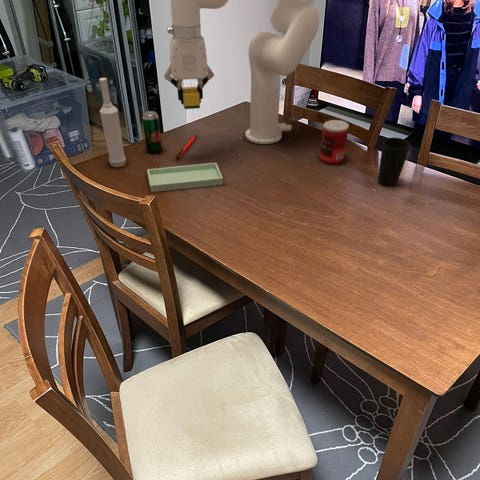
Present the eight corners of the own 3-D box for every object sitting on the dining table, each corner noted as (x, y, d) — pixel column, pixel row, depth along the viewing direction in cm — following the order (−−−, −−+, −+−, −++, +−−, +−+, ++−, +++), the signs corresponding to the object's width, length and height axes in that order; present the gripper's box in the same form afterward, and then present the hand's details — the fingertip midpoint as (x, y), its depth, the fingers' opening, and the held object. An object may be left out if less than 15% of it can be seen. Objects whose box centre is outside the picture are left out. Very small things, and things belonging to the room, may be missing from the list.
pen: (175, 160, 152) (175, 157, 152) (194, 136, 166) (194, 133, 165) (178, 160, 152) (177, 157, 151) (197, 136, 165) (197, 133, 165)
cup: (381, 173, 147) (390, 135, 138) (404, 181, 143) (415, 142, 135) (369, 182, 143) (378, 143, 134) (393, 191, 139) (403, 151, 131)
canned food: (344, 155, 156) (350, 121, 148) (341, 166, 150) (347, 131, 143) (321, 152, 157) (325, 118, 150) (317, 162, 152) (321, 128, 144)
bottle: (117, 169, 148) (102, 83, 130) (106, 164, 150) (89, 79, 133) (130, 163, 151) (116, 78, 133) (118, 158, 153) (103, 74, 136)
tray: (216, 168, 148) (216, 162, 147) (223, 184, 141) (222, 178, 140) (147, 175, 145) (147, 169, 143) (151, 192, 138) (150, 185, 136)
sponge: (196, 100, 145) (196, 86, 142) (200, 108, 140) (199, 93, 137) (182, 101, 144) (181, 87, 142) (184, 109, 139) (183, 94, 137)
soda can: (153, 155, 155) (148, 118, 146) (143, 150, 157) (138, 113, 149) (165, 150, 157) (161, 113, 149) (155, 146, 160) (150, 109, 151)
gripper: (156, 36, 125) (163, 108, 138) (219, 34, 128) (220, 104, 140) (154, 29, 131) (161, 99, 143) (215, 27, 133) (216, 96, 146)
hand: (190, 101), depth 142 cm, fingers closed on sponge, 4 cm apart
